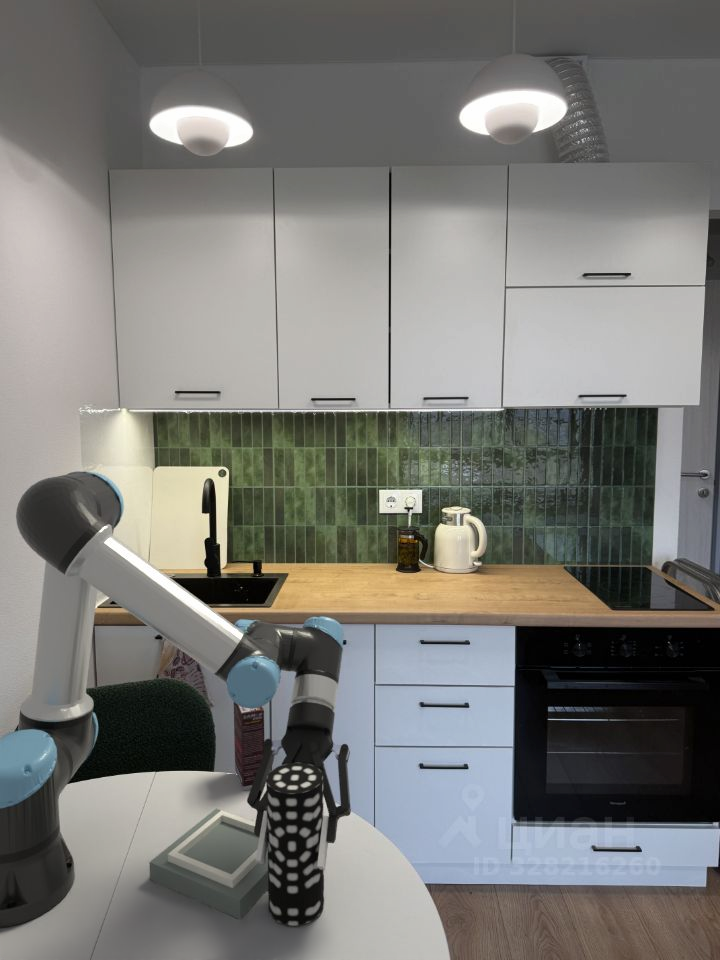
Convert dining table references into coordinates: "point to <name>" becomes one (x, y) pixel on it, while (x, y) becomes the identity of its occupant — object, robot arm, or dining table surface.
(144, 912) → the dining table surface
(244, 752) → the supplement box
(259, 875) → the tray
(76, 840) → the dining table surface
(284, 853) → the black polka dot cylinder
